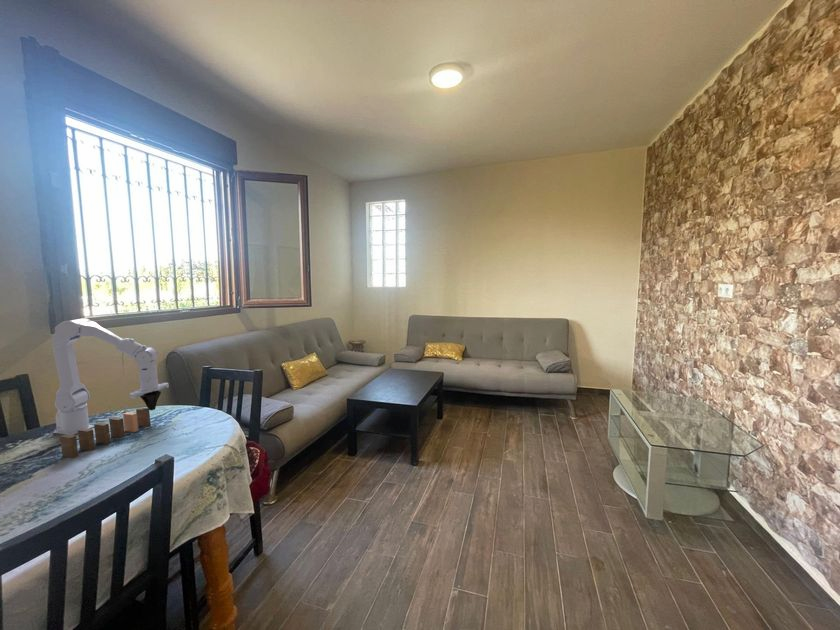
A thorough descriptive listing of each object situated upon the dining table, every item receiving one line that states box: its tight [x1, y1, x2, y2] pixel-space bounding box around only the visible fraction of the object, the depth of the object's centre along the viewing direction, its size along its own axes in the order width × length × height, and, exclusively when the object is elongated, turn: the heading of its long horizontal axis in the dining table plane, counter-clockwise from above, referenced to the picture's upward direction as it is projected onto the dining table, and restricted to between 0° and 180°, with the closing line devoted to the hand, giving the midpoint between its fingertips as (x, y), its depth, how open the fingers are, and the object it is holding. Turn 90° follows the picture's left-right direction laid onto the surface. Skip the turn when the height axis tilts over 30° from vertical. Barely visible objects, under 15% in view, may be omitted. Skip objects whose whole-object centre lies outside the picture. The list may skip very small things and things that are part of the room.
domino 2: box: [77, 428, 96, 452], centre depth 117 cm, size 2×5×7 cm, turn 76°
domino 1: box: [59, 434, 79, 459], centre depth 112 cm, size 2×5×7 cm, turn 76°
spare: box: [122, 411, 139, 433], centre depth 131 cm, size 2×5×7 cm, turn 77°
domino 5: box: [135, 407, 151, 428], centre depth 135 cm, size 2×5×7 cm, turn 76°
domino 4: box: [108, 416, 126, 439], centre depth 126 cm, size 2×5×7 cm, turn 77°
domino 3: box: [93, 422, 112, 445], centre depth 121 cm, size 2×5×7 cm, turn 77°
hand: (151, 409), depth 138 cm, fingers closed
